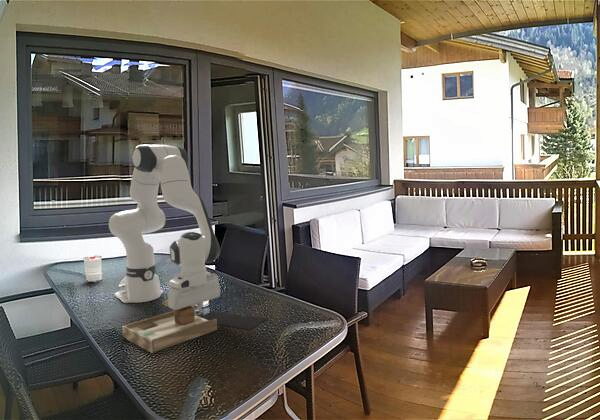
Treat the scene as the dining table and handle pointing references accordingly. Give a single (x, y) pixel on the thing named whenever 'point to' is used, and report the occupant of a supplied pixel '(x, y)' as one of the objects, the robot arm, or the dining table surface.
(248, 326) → the black flat board
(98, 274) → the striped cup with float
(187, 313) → the block
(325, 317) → the dining table surface
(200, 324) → the box
